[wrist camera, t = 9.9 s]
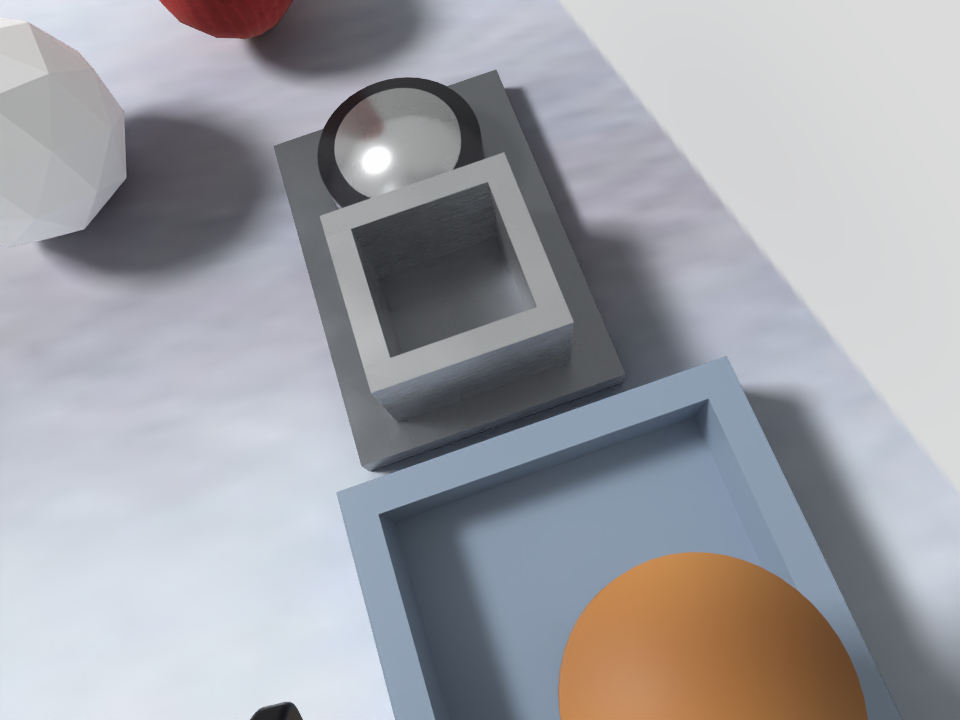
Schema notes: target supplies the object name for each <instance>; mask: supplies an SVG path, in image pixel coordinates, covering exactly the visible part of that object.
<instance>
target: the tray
mask: <svg viewBox="0 0 960 720" xmlns="http://www.w3.org/2000/svg"><path fill="white" fill-rule="evenodd" d="M336 493H337V497H338V501H339V504H340V508H341V512H342V516H343V520H344V524H345V528H346V531H347V535H348V539H349V543H350V547H351V551H352V555H353V558H354V562H355V566H356V570H357V574H358V578H359V582H360V585H361V589H362V593H363V597H364V601H365V605H366V609H367V613H368V616H369V620H370V624H371V628H372V632H373V636H374V640H375V643H376V647H377V651H378V655H379V659H380V663H381V667H382V670H383V674H384V678H385V682H386V686H387V690H388V694H389V697H390V701H391V705H392V709H393V713H394V717H395V720H560V714H559V705H558V683H559V673H560V666H561V662H562V657H563V653H564V649H565V646H566V644H567V641H568V638H569V635H570V633H571V631H572V629H573V627H574V625H575V623H576V621H577V619H578V617H579V616H580V615H581V613H582V612H583V610H584V609H585V607H586V606H587V605H588V603H589V602H590V601H591V600H592V599H593V598H594V597H595V596H596V595H597V593H598V592H599V591H600V590H602V589H603V588H604V587H605V586H607V585H608V584H609V583H610V582H611V581H613V580H614V579H616V578H617V577H619V576H620V575H622V574H624V573H625V572H627V571H628V570H630V569H632V568H633V567H635V566H637V565H640V564H642V563H644V562H647V561H649V560H651V559H655V558H658V557H662V556H666V555H670V554H677V553H685V552H707V553H714V554H722V555H727V556H731V557H734V558H738V559H742V560H745V561H747V562H750V563H752V564H755V565H757V566H760V567H762V568H764V569H766V570H767V571H769V572H771V573H773V574H775V575H776V576H778V577H780V578H781V579H783V580H784V581H785V582H787V583H788V584H790V585H791V586H792V587H794V588H795V589H797V590H798V591H799V592H800V593H801V594H802V595H803V596H804V597H805V598H807V599H808V600H809V601H810V602H811V603H812V604H813V605H814V606H815V607H816V608H817V610H818V611H819V612H820V613H821V614H822V615H823V616H824V617H825V619H826V620H827V621H828V623H829V624H830V625H831V627H832V628H833V630H834V631H835V632H836V634H837V635H838V637H839V638H840V640H841V642H842V644H843V646H844V647H845V649H846V651H847V653H848V655H849V656H850V659H851V661H852V664H853V666H854V668H855V671H856V673H857V676H858V678H859V682H860V685H861V689H862V692H863V696H864V699H865V705H866V711H867V717H868V720H902V718H901V716H900V714H899V712H898V710H897V708H896V705H895V703H894V701H893V699H892V697H891V695H890V693H889V691H888V689H887V687H886V685H885V683H884V681H883V679H882V677H881V674H880V672H879V670H878V668H877V666H876V664H875V662H874V660H873V658H872V656H871V654H870V652H869V650H868V648H867V645H866V643H865V641H864V639H863V637H862V635H861V633H860V631H859V629H858V627H857V625H856V623H855V621H854V619H853V617H852V614H851V612H850V610H849V608H848V606H847V604H846V602H845V600H844V598H843V596H842V594H841V592H840V590H839V588H838V585H837V583H836V581H835V579H834V577H833V575H832V573H831V571H830V569H829V567H828V565H827V563H826V561H825V559H824V557H823V554H822V552H821V550H820V548H819V546H818V544H817V542H816V540H815V538H814V536H813V534H812V532H811V530H810V528H809V525H808V523H807V521H806V519H805V517H804V515H803V513H802V511H801V509H800V507H799V505H798V503H797V501H796V499H795V497H794V494H793V492H792V490H791V488H790V486H789V484H788V482H787V480H786V478H785V476H784V474H783V472H782V470H781V468H780V465H779V463H778V461H777V459H776V457H775V455H774V453H773V451H772V449H771V447H770V445H769V443H768V441H767V439H766V437H765V434H764V432H763V430H762V428H761V426H760V424H759V422H758V420H757V418H756V416H755V414H754V412H753V410H752V408H751V405H750V403H749V401H748V399H747V397H746V395H745V393H744V391H743V389H742V387H741V385H740V383H739V381H738V379H737V377H736V374H735V372H734V370H733V368H732V366H731V364H730V362H729V360H728V358H727V356H725V357H722V358H719V359H717V360H714V361H711V362H708V363H705V364H702V365H699V366H697V367H694V368H691V369H688V370H685V371H682V372H679V373H677V374H674V375H671V376H668V377H665V378H662V379H659V380H657V381H654V382H651V383H648V384H645V385H642V386H639V387H637V388H634V389H631V390H628V391H625V392H622V393H619V394H616V395H614V396H611V397H608V398H605V399H602V400H599V401H596V402H594V403H591V404H588V405H585V406H582V407H579V408H576V409H574V410H571V411H568V412H565V413H562V414H559V415H556V416H554V417H551V418H548V419H545V420H542V421H539V422H536V423H534V424H531V425H528V426H525V427H522V428H519V429H516V430H514V431H511V432H508V433H505V434H502V435H499V436H496V437H494V438H491V439H488V440H485V441H482V442H479V443H476V444H473V445H471V446H468V447H465V448H462V449H459V450H456V451H453V452H451V453H448V454H445V455H442V456H439V457H436V458H433V459H431V460H428V461H425V462H422V463H419V464H416V465H413V466H411V467H408V468H405V469H402V470H399V471H396V472H393V473H391V474H388V475H385V476H382V477H379V478H376V479H373V480H371V481H368V482H365V483H362V484H359V485H356V486H353V487H351V488H348V489H345V490H342V491H339V492H336Z"/></svg>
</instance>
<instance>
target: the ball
mask: <svg viewBox="0 0 960 720" xmlns="http://www.w3.org/2000/svg"><path fill="white" fill-rule="evenodd" d="M125 179H126V149H125V118H124V111H123V109H122V108H121V106H120V105H119V104H118V102H117V101H116V99H115V98H114V97H113V95H112V94H111V93H110V91H109V90H108V88H107V87H106V86H105V84H104V83H103V81H102V80H101V79H100V77H99V76H98V74H97V73H96V72H95V70H94V69H93V68H92V67H91V65H90V64H89V63H88V62H87V61H86V60H85V59H84V58H83V56H82V55H81V54H80V53H79V52H78V51H77V50H75V49H73V48H72V47H70V46H68V45H66V44H65V43H63V42H61V41H60V40H58V39H56V38H54V37H53V36H51V35H49V34H48V33H46V32H44V31H42V30H41V29H39V28H37V27H36V26H34V25H32V24H30V23H29V22H24V21H18V20H13V19H7V18H1V17H0V245H3V246H6V247H9V248H10V247H14V246H19V245H23V244H27V243H32V242H36V241H40V240H45V239H49V238H53V237H57V236H61V235H65V234H69V233H72V232H76V231H80V230H84V229H85V228H86V227H87V226H88V224H89V223H90V222H91V221H92V219H93V218H94V217H95V216H96V215H97V213H98V212H99V211H100V210H101V208H102V207H103V206H104V205H105V204H106V202H107V201H108V200H109V199H110V198H111V196H112V195H113V194H114V193H115V191H116V190H117V189H118V188H119V187H120V185H121V184H122V183H123V182H124V180H125Z"/></svg>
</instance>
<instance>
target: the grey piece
mask: <svg viewBox="0 0 960 720" xmlns="http://www.w3.org/2000/svg"><path fill="white" fill-rule="evenodd" d="M274 149H275V153H276V156H277V160H278V164H279V167H280V171H281V175H282V178H283V182H284V186H285V189H286V193H287V196H288V200H289V204H290V207H291V211H292V215H293V218H294V222H295V226H296V229H297V233H298V236H299V240H300V244H301V247H302V251H303V255H304V258H305V262H306V266H307V269H308V273H309V276H310V280H311V284H312V287H313V291H314V295H315V298H316V302H317V306H318V309H319V313H320V316H321V320H322V324H323V327H324V331H325V335H326V338H327V342H328V346H329V349H330V353H331V357H332V360H333V364H334V367H335V371H336V375H337V378H338V382H339V386H340V389H341V393H342V397H343V400H344V404H345V407H346V411H347V415H348V418H349V422H350V426H351V429H352V433H353V437H354V440H355V444H356V447H357V451H358V455H359V458H360V462H361V466H362V467H364V468H365V469H367V470H368V471H372V470H375V469H377V468H380V467H383V466H386V465H389V464H392V463H395V462H398V461H400V460H403V459H406V458H409V457H412V456H415V455H418V454H420V453H423V452H426V451H429V450H432V449H435V448H438V447H440V446H443V445H446V444H449V443H452V442H455V441H458V440H460V439H463V438H466V437H469V436H472V435H475V434H478V433H480V432H483V431H486V430H489V429H492V428H495V427H498V426H501V425H503V424H506V423H509V422H512V421H515V420H518V419H521V418H523V417H526V416H529V415H532V414H535V413H538V412H541V411H543V410H546V409H549V408H552V407H555V406H558V405H561V404H563V403H566V402H569V401H572V400H575V399H578V398H581V397H583V396H586V395H589V394H592V393H595V392H598V391H601V390H604V389H606V388H609V387H612V386H615V385H618V384H621V383H623V381H624V378H625V375H626V373H625V371H624V368H623V366H622V363H621V361H620V359H619V356H618V354H617V352H616V349H615V347H614V345H613V342H612V340H611V338H610V335H609V333H608V331H607V328H606V326H605V324H604V321H603V319H602V317H601V314H600V312H599V310H598V307H597V305H596V302H595V300H594V298H593V295H592V293H591V291H590V288H589V286H588V284H587V281H586V279H585V277H584V274H583V272H582V270H581V267H580V265H579V263H578V260H577V258H576V256H575V253H574V251H573V249H572V246H571V244H570V241H569V239H568V237H567V234H566V232H565V230H564V227H563V225H562V223H561V220H560V218H559V216H558V213H557V211H556V209H555V206H554V204H553V202H552V199H551V197H550V195H549V192H548V190H547V188H546V185H545V183H544V180H543V178H542V176H541V173H540V171H539V169H538V166H537V164H536V162H535V159H534V157H533V155H532V152H531V150H530V148H529V145H528V143H527V141H526V138H525V136H524V134H523V131H522V129H521V127H520V124H519V122H518V119H517V117H516V115H515V112H514V110H513V108H512V105H511V103H510V101H509V98H508V96H507V94H506V91H505V89H504V87H503V84H502V82H501V80H500V77H499V75H498V73H497V70H494V71H491V72H488V73H485V74H482V75H479V76H476V77H473V78H470V79H467V80H464V81H462V82H459V83H456V84H453V85H450V86H445V85H442V84H440V83H438V82H434V81H431V80H427V79H421V78H408V77H407V78H395V79H389V80H385V81H381V82H378V83H375V84H372V85H370V86H367V87H365V88H363V89H362V90H360V91H358V92H356V93H355V94H353V95H352V96H350V97H349V98H348V99H347V100H345V101H344V102H343V103H342V104H341V105H340V106H339V107H338V108H337V109H336V110H335V111H334V113H333V114H332V115H331V117H330V118H329V120H328V121H327V123H326V125H325V127H324V129H322V130H319V131H316V132H313V133H310V134H307V135H304V136H302V137H299V138H296V139H293V140H290V141H287V142H284V143H281V144H278V145H275V146H274Z"/></svg>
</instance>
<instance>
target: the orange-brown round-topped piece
mask: <svg viewBox="0 0 960 720" xmlns="http://www.w3.org/2000/svg"><path fill="white" fill-rule="evenodd" d="M558 705H559V714H560V720H868V717H867V711H866V705H865V699H864V696H863V692H862V689H861V685H860V682H859V678H858V676H857V673H856V671H855V668H854V666H853V664H852V661H851V659H850V656H849V655H848V653H847V651H846V649H845V647H844V646H843V644H842V642H841V640H840V638H839V637H838V635H837V634H836V632H835V631H834V630H833V628H832V627H831V625H830V624H829V623H828V621H827V620H826V619H825V617H824V616H823V615H822V614H821V613H820V612H819V611H818V610H817V608H816V607H815V606H814V605H813V604H812V603H811V602H810V601H809V600H808V599H807V598H805V597H804V596H803V595H802V594H801V593H800V592H799V591H798V590H797V589H795V588H794V587H792V586H791V585H790V584H788V583H787V582H785V581H784V580H783V579H781V578H780V577H778V576H776V575H775V574H773V573H771V572H769V571H767V570H766V569H764V568H762V567H760V566H757V565H755V564H752V563H750V562H747V561H745V560H742V559H738V558H734V557H731V556H727V555H722V554H714V553H707V552H685V553H677V554H670V555H666V556H662V557H658V558H655V559H651V560H649V561H647V562H644V563H642V564H640V565H637V566H635V567H633V568H632V569H630V570H628V571H627V572H625V573H624V574H622V575H620V576H619V577H617V578H616V579H614V580H613V581H611V582H610V583H609V584H608V585H607V586H605V587H604V588H603V589H602V590H600V591H599V592H598V593H597V595H596V596H595V597H594V598H593V599H592V600H591V601H590V602H589V603H588V605H587V606H586V607H585V609H584V610H583V612H582V613H581V615H580V616H579V617H578V619H577V621H576V623H575V625H574V627H573V629H572V631H571V633H570V635H569V638H568V641H567V644H566V646H565V649H564V653H563V657H562V662H561V666H560V673H559V683H558Z"/></svg>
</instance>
